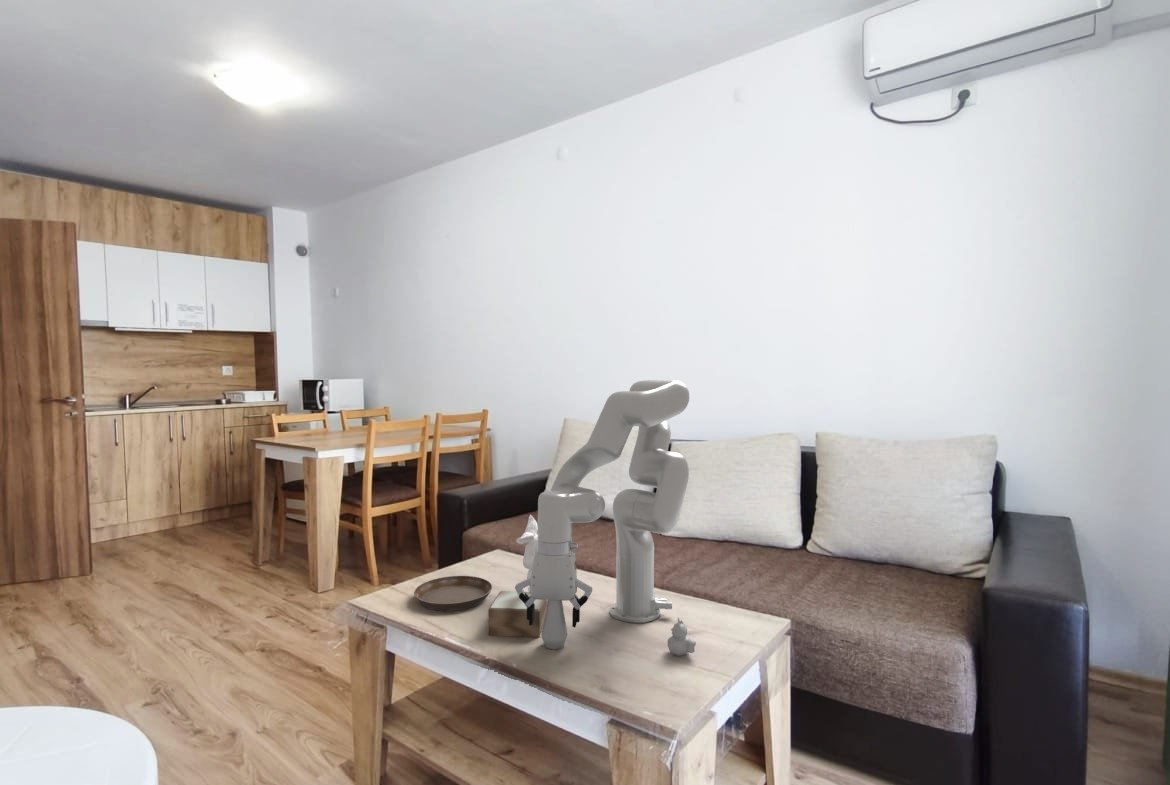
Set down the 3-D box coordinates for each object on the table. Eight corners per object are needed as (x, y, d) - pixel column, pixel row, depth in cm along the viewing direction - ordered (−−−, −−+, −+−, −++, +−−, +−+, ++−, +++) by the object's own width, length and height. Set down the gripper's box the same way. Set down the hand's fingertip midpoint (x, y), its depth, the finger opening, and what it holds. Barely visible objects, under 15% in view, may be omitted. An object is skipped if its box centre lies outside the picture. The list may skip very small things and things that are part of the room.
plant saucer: (460, 620, 147) (460, 607, 147) (397, 606, 156) (397, 594, 156) (506, 594, 166) (506, 582, 165) (447, 583, 174) (447, 571, 174)
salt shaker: (536, 645, 132) (536, 587, 132) (555, 637, 136) (555, 581, 136) (553, 653, 128) (553, 594, 128) (572, 645, 132) (572, 587, 132)
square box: (546, 616, 149) (547, 591, 148) (539, 637, 137) (539, 610, 137) (499, 615, 150) (499, 590, 149) (488, 635, 138) (488, 608, 137)
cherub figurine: (566, 600, 160) (567, 519, 160) (528, 611, 153) (529, 526, 152) (540, 587, 170) (541, 511, 169) (503, 597, 162) (503, 517, 161)
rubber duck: (674, 646, 132) (674, 610, 132) (701, 654, 128) (701, 618, 128) (661, 654, 128) (662, 618, 128) (689, 663, 124) (689, 625, 124)
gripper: (594, 544, 135) (592, 619, 135) (519, 541, 136) (518, 616, 136) (591, 553, 127) (590, 632, 128) (512, 550, 129) (511, 629, 129)
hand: (553, 624), depth 132 cm, fingers open, 9 cm apart
